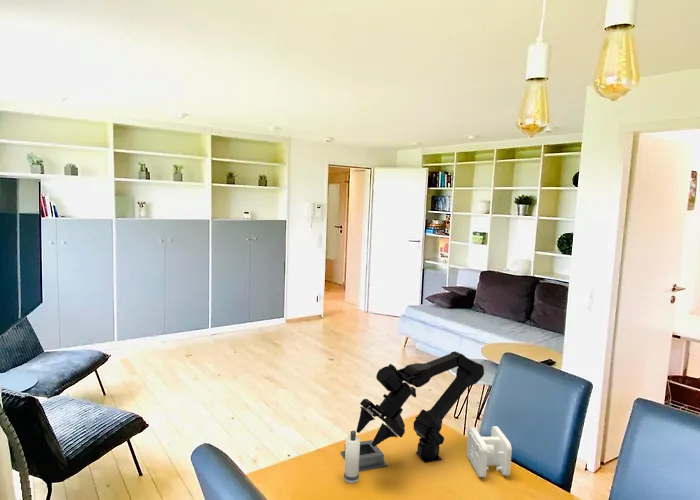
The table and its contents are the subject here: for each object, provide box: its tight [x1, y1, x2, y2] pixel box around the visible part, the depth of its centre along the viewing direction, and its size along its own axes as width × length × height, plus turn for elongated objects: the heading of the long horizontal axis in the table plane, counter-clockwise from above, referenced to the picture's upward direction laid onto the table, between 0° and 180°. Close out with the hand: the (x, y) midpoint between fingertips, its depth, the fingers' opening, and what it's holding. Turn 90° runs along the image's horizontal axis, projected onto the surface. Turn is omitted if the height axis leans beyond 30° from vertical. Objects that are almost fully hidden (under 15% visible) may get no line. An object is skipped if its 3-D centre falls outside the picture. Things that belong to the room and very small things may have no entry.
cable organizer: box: [466, 425, 513, 478], centre depth 152 cm, size 15×11×12 cm
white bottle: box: [343, 430, 361, 484], centre depth 143 cm, size 5×5×15 cm
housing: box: [340, 439, 389, 473], centre depth 155 cm, size 12×12×4 cm
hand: (364, 438), depth 144 cm, fingers open, 9 cm apart
